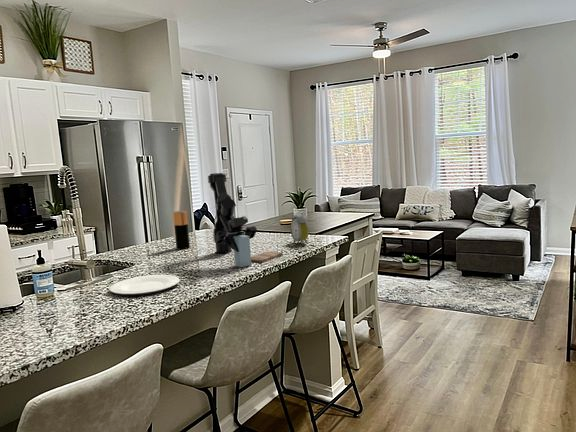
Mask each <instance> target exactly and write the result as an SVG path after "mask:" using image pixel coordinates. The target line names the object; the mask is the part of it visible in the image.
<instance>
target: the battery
mask: <svg viewBox="0 0 576 432" xmlns="http://www.w3.org/2000/svg"><path fill="white" fill-rule="evenodd" d="M172 214H173V215H172V216H173V226H174V236H175V248H176V249H177V250H182V249H183V250H184V249H189V248H191V245H190V244H191V243H190V233H189V232H190V231H189V219H188V211H187V210H177V211H173V212H172Z"/></svg>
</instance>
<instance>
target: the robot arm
mask: <svg viewBox="0 0 576 432" xmlns="http://www.w3.org/2000/svg"><path fill="white" fill-rule="evenodd" d="M207 181H208V184H209V188H210V189H211V190H212V191H213V196H214V198H213V199H214V205H215V207H214V208H215V215H216V222H215V224H214V229H213V230H212V232H213V233H212V239H213V242H214V243H215V250H216V251H214V254H228V253H231V252H232V251H234V250H235V251H236V252H239V250H238V247H237V245H236V243H235V241H234V239H233V237H234V236H240V235H246V236H249V239H250V240H251V239H253V238H254V237H255V236H256V233H257V232H258V229H257V227H256V226H255V225H253V226H247V227H246V228H245V230H243V229H244V227H243V226H244V225H246V224H247V223H248V222H249V220H248V217H247V216H246V215H241V217H235V216H234V214H235V209H236V207H237V204H236V202H235V200H234V199H232V197H231V196H230V195H229V194H228V192H227V187H226V182H227V174H224V173H223V172H215V173H210V175H208V176H207Z"/></svg>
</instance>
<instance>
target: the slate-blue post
mask: <svg viewBox="0 0 576 432" xmlns="http://www.w3.org/2000/svg"><path fill="white" fill-rule="evenodd" d="M233 239H234V241H235V243H236V245H237V247H238V250H239V252H236V251H235V250H233V251H234V252H233V253H234V254H233V255H234V266H236V267H238V268H245V267H249V266H252V262H251V257H252V255H251V242H250V240H251V239H249V236H246V235H240V236H234V237H233Z"/></svg>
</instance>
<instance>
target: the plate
mask: <svg viewBox="0 0 576 432" xmlns="http://www.w3.org/2000/svg"><path fill="white" fill-rule="evenodd" d="M180 281H181V279H180V277H178V276H176V275H170V274H152V275H151V274H150V275H149V274H148V275H142V276H136V277H132V278H127V279H123V280H121V281H117V282H115V283H113V284H112V285H111V286H110V287H109V288H108V289H109V292H110V293H113V294H115V295H123V296H124V295H125V296H140V295H141V296H143V295H149V294H156V293H158V292H162V291H165V290H167V289H170V288H173V287H174V286H176V285H177V284H179V283H180Z"/></svg>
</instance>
